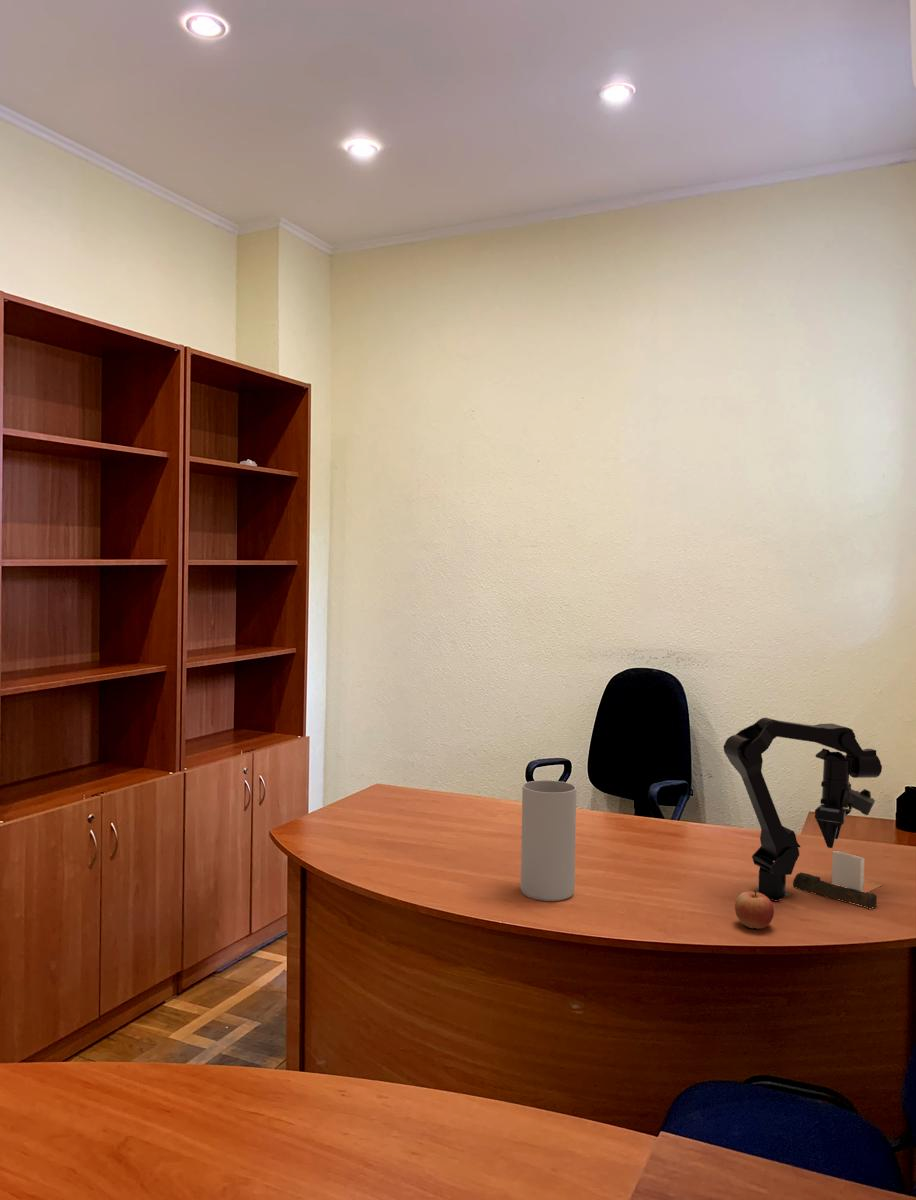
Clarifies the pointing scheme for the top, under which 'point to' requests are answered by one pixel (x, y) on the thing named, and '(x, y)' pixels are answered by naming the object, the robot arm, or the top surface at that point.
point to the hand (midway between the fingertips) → (832, 843)
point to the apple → (754, 909)
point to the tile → (848, 870)
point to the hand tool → (833, 890)
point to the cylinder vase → (548, 840)
